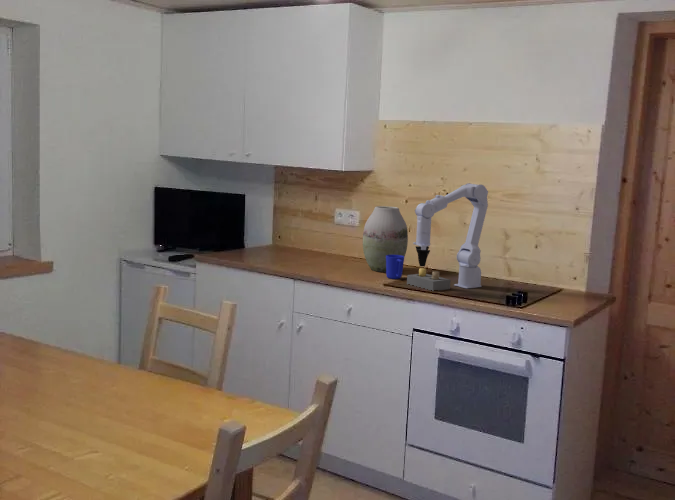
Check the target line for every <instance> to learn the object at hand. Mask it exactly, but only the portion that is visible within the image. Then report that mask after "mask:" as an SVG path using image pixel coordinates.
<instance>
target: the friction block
mask: <svg viewBox="0 0 675 500" xmlns="http://www.w3.org/2000/svg"><path fill="white" fill-rule="evenodd" d="M451 281H452V280H451V279H450V278H449V279H448V278H444V277H441V276H439V280H433V279H432V274H428V273H426V277H420V276H419V273H415V274H407V277H406V285H408V284H410V285H409V286H412V285H414V286H413V287H416V286H417V287H416V288H419V287H421V288H420V289H423V288H425V289H424V290H427V289H428V290H427V291H431V290H432V292H435V291H434V290H438V291H444V290H450V289H451V283H452V282H451Z"/></svg>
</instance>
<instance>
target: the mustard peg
mask: <svg viewBox="0 0 675 500" xmlns="http://www.w3.org/2000/svg"><path fill="white" fill-rule="evenodd" d="M418 274H419V276H420V277H426V274H427V268H425V267H424V268H423V267H420V268H419V269H418Z"/></svg>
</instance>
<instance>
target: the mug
mask: <svg viewBox="0 0 675 500" xmlns="http://www.w3.org/2000/svg"><path fill="white" fill-rule="evenodd" d="M404 262H405V257H404V256H401V255H386V272H385V274H386V278H388V279H390V280H391V279H392V280H398V279H399V280H400V279H401V278H402V276H403V270H404Z"/></svg>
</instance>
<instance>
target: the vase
mask: <svg viewBox="0 0 675 500" xmlns="http://www.w3.org/2000/svg"><path fill="white" fill-rule="evenodd" d="M408 232H409V231H408V225H407V223H406V221H405V219H404V217H403V216H402V214H401V211H400V208H399V207H396V206H386V205H381V206H380V205H379V206H375V207H374V209H373V211H372V212H371V213H370V215H369V216H368V218H367V220H366V221H365V224H364V227H363V234H362V249H363V255H364V258H365V261H366V263H367V264H368V267H369V268H370V270H371V271H373V272H378V273H386V255H401V256H404V258H406V257H405V256H406V253H407V249H408V243H409V237H408Z"/></svg>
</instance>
